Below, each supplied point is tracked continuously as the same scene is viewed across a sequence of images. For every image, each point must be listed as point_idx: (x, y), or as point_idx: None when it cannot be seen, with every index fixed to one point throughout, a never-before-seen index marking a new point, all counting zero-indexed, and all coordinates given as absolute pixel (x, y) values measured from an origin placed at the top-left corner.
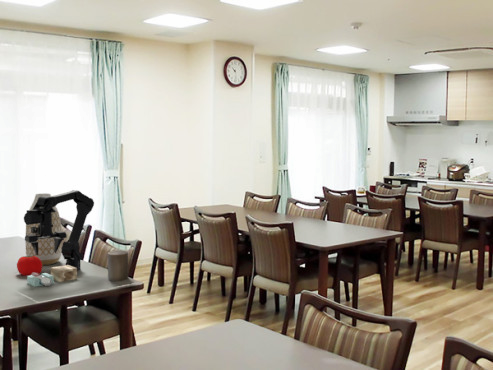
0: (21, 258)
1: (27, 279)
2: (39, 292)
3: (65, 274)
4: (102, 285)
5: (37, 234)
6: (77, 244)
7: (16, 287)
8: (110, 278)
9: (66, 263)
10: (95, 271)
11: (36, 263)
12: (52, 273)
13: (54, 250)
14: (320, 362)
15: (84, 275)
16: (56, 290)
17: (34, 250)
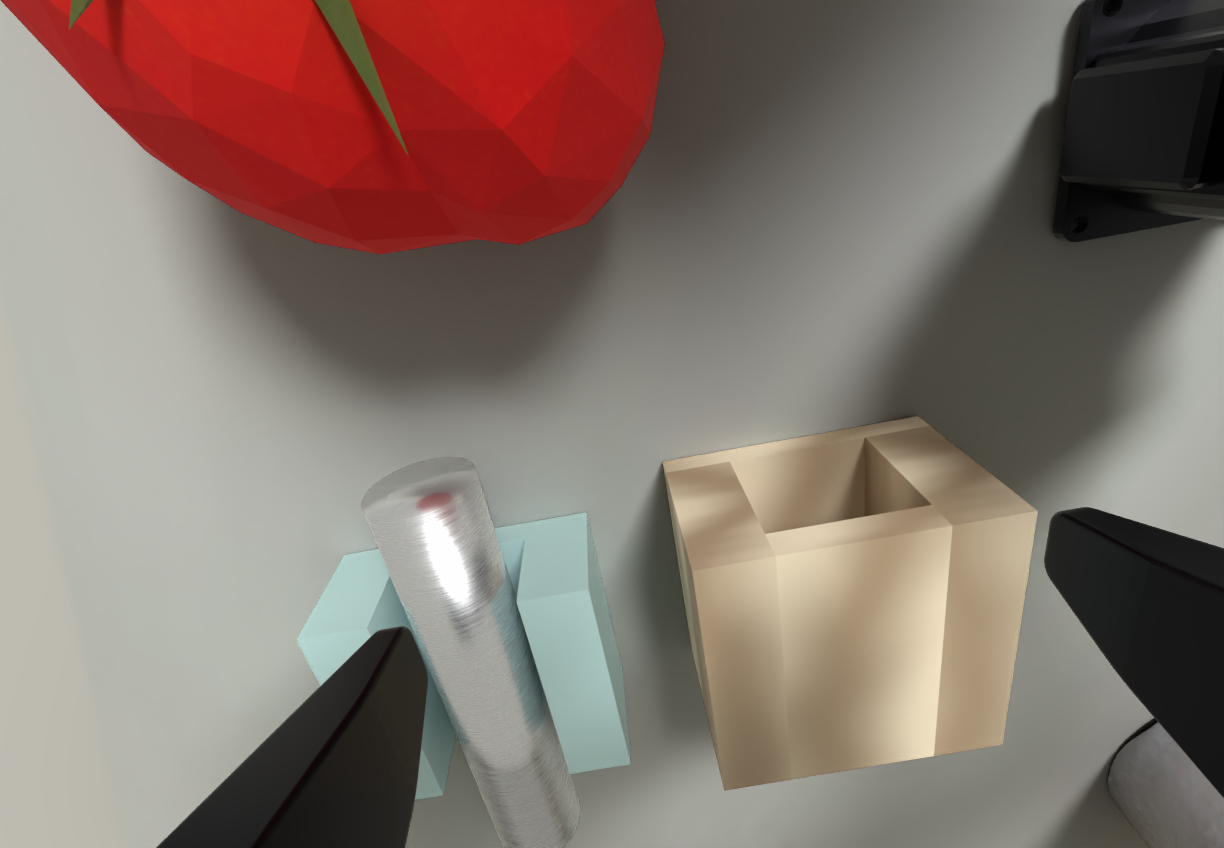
0: None
1: (319, 606)
2: (439, 823)
3: (878, 489)
4: (982, 833)
5: None
6: None
7: (213, 601)
8: (1134, 818)
9: (1201, 116)
10: None
11: (484, 233)
12: (685, 567)
13: (1115, 552)
14: None
15: (1113, 445)
16: (591, 824)
17: (237, 778)
